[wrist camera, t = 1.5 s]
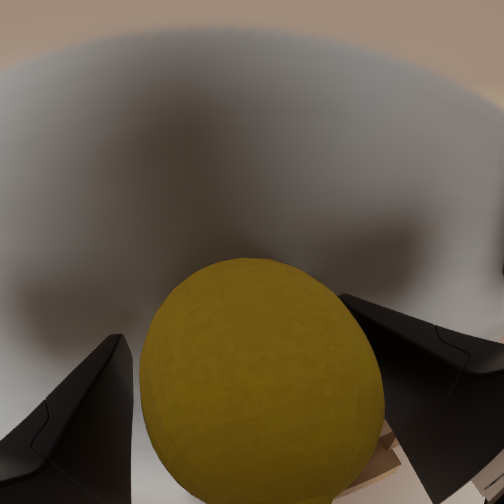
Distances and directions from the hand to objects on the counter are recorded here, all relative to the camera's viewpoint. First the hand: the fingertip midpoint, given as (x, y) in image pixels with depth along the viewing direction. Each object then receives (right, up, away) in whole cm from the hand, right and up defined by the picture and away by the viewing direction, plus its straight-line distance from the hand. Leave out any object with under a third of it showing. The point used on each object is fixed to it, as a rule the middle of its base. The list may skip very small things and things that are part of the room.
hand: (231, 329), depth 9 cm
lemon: (0, +1, +2) cm, 2 cm away
